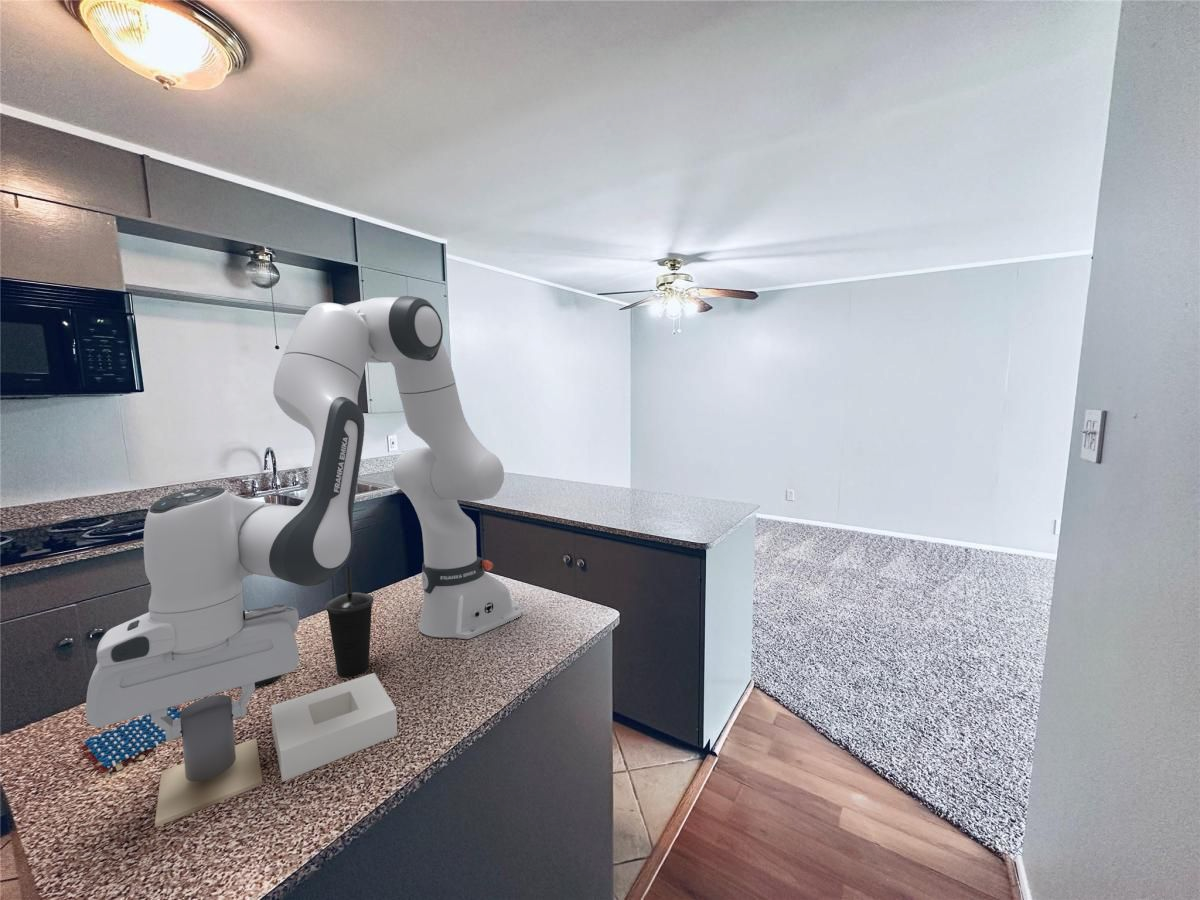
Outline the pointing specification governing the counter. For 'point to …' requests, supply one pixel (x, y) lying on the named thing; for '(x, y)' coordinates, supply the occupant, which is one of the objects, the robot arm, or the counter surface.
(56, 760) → the counter surface
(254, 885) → the counter surface
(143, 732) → the woven mat
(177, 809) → the pad
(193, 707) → the grey cylinder
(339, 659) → the drinking cup
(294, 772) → the block
